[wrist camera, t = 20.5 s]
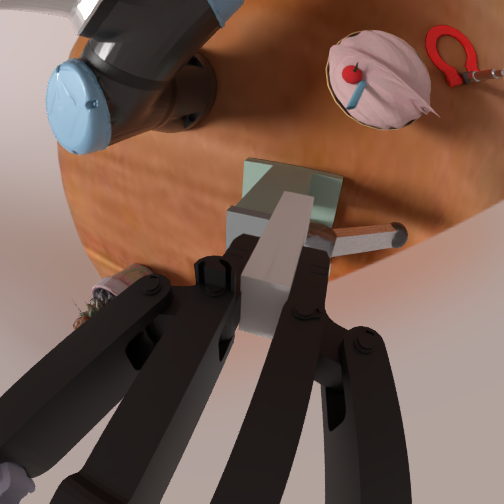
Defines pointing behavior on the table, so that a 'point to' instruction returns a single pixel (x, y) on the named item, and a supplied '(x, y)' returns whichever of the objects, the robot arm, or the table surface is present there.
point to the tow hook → (470, 65)
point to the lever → (355, 238)
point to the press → (280, 195)
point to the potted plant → (111, 289)
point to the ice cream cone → (378, 80)
